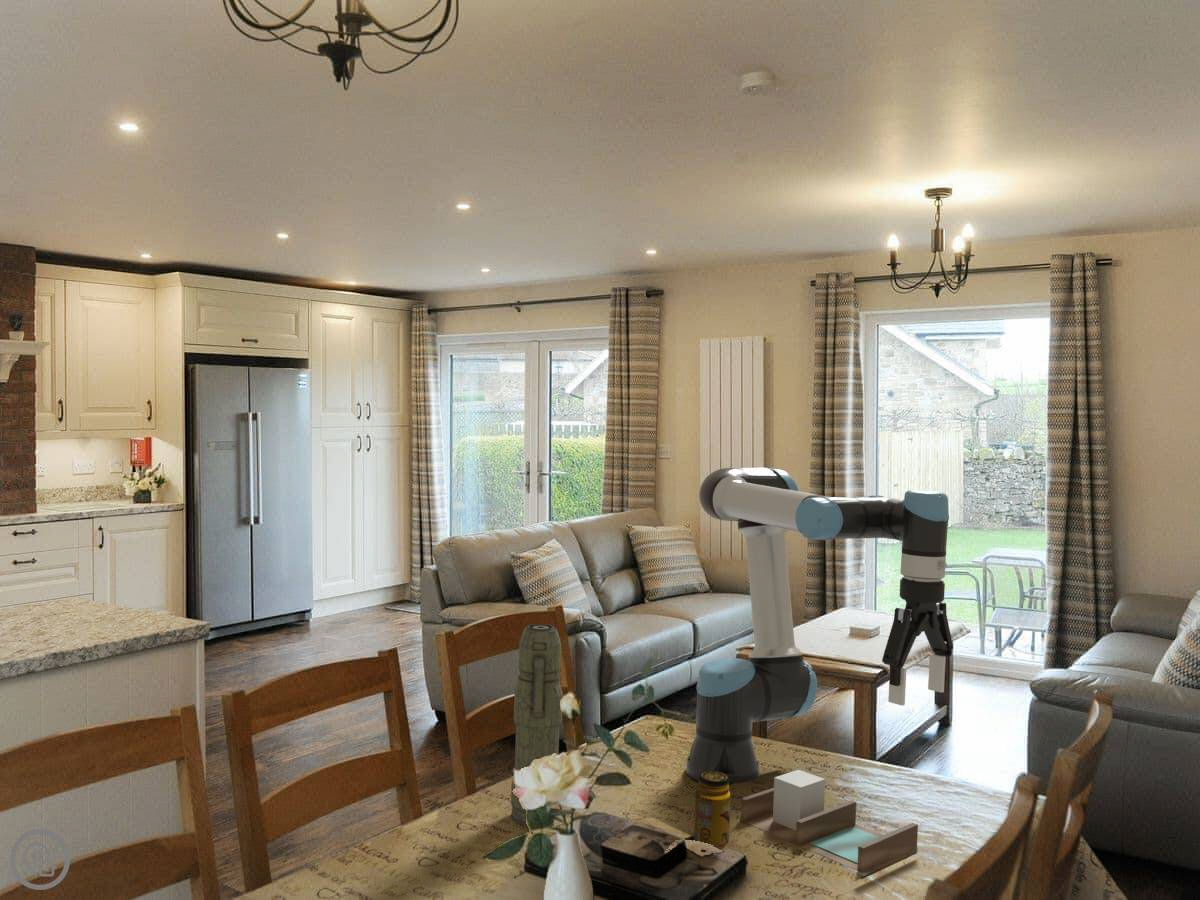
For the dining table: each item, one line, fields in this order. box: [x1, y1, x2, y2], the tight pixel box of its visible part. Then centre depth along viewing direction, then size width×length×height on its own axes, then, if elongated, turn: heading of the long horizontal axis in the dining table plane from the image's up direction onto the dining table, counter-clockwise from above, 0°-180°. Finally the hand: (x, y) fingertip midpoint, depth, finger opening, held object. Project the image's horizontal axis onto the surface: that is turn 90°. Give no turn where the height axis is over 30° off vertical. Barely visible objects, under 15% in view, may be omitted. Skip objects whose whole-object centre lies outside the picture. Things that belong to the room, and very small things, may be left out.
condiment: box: [683, 771, 732, 847], centre depth 167 cm, size 7×8×12 cm
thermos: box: [510, 623, 564, 827], centre depth 177 cm, size 9×12×35 cm
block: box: [773, 769, 826, 831], centre depth 176 cm, size 6×7×8 cm
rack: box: [740, 787, 919, 880], centre depth 171 cm, size 26×16×5 cm, turn 40°
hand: (916, 697), depth 172 cm, fingers open, 13 cm apart
